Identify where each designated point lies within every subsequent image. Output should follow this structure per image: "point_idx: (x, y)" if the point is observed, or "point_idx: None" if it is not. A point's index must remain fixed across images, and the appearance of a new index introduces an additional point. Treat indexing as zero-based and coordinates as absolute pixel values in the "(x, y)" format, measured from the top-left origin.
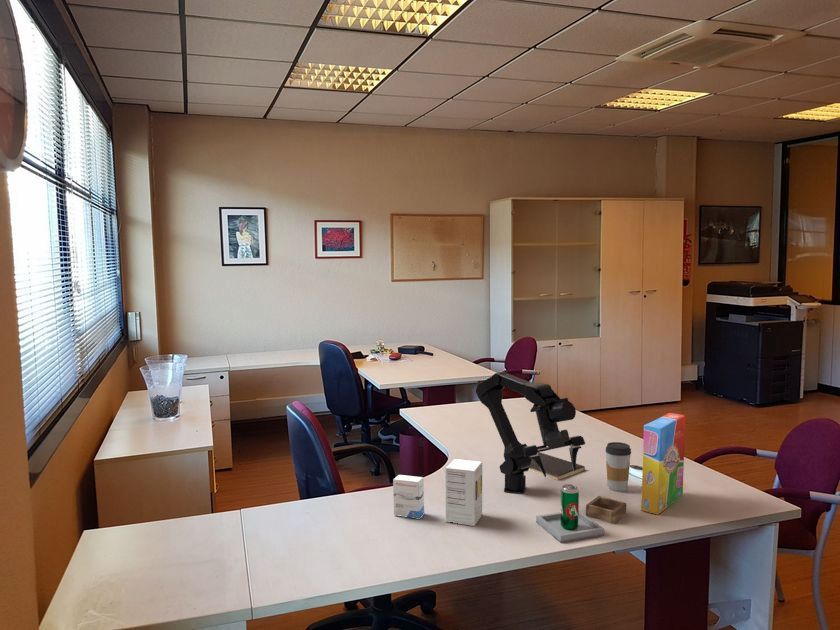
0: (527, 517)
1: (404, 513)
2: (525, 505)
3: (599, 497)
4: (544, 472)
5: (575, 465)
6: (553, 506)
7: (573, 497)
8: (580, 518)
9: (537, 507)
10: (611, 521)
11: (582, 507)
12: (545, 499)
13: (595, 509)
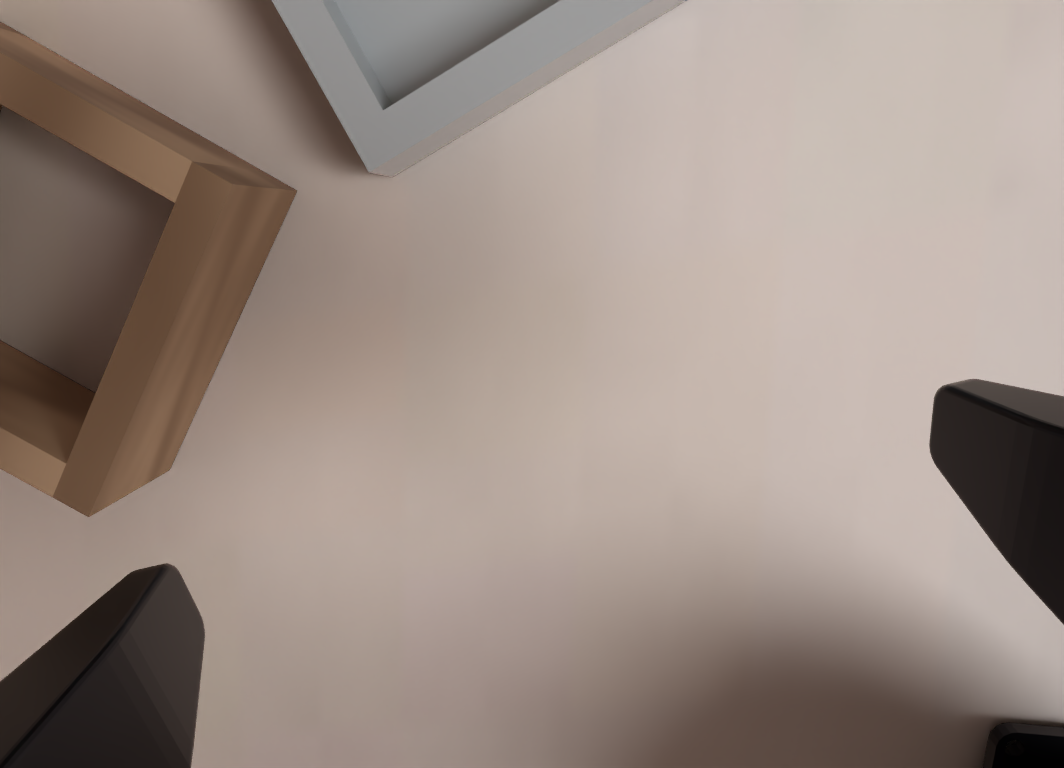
0: (1015, 13)
1: None
2: None
3: (77, 467)
4: (1057, 418)
5: (24, 661)
6: (655, 410)
7: None
8: (348, 29)
9: (851, 354)
10: (6, 28)
11: (334, 426)
12: (736, 594)
13: (126, 116)
